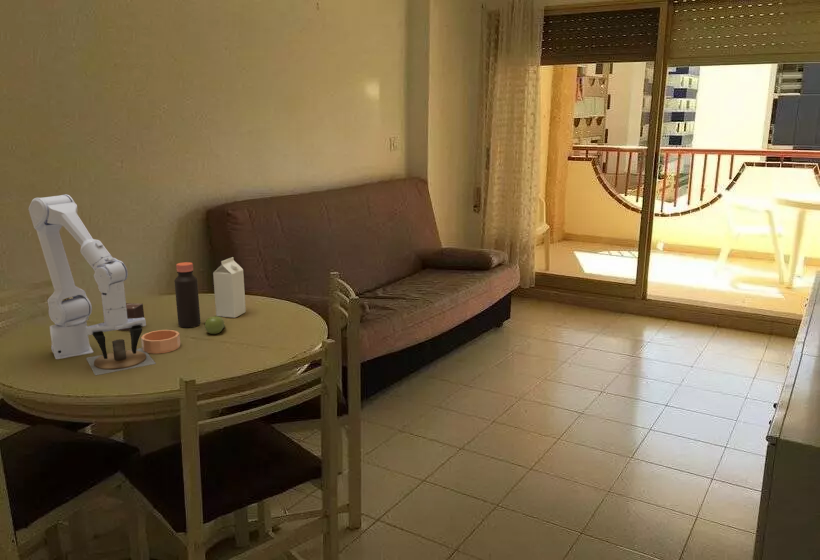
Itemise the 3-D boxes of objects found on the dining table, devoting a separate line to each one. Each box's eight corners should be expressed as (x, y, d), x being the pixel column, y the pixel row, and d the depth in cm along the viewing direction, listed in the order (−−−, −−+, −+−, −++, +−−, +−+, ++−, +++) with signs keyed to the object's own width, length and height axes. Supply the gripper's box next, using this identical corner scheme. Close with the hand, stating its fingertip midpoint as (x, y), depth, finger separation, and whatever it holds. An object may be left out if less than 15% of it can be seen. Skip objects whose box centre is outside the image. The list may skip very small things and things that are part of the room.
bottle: (178, 322, 215) (173, 262, 210) (200, 320, 217) (195, 260, 212) (178, 329, 209) (172, 266, 204) (200, 327, 211) (195, 265, 206)
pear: (202, 318, 201) (209, 314, 211) (203, 335, 202) (210, 330, 212) (221, 317, 202) (227, 313, 212) (222, 335, 202) (228, 330, 212)
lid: (98, 373, 172) (96, 352, 171) (90, 358, 183) (88, 339, 181) (151, 363, 179) (149, 343, 178) (140, 349, 190) (138, 330, 188)
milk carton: (216, 316, 222) (212, 260, 217) (227, 310, 229) (224, 256, 224) (234, 318, 220) (231, 262, 215) (246, 312, 227) (242, 257, 222)
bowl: (147, 357, 185) (146, 343, 184) (139, 346, 193) (138, 333, 192) (184, 350, 190) (183, 336, 189) (174, 340, 198) (173, 327, 197)
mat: (95, 376, 171) (95, 375, 171) (86, 359, 183) (85, 357, 183) (156, 364, 179) (155, 363, 179) (143, 349, 191) (143, 347, 191)
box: (145, 325, 213) (143, 303, 211) (136, 331, 207) (134, 308, 205) (127, 324, 213) (125, 302, 211) (117, 330, 207) (115, 308, 206)
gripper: (87, 314, 170) (93, 364, 173) (146, 306, 178) (151, 354, 181) (82, 308, 176) (88, 357, 179) (140, 300, 184) (145, 346, 187)
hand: (119, 355), depth 180 cm, fingers open, 7 cm apart
